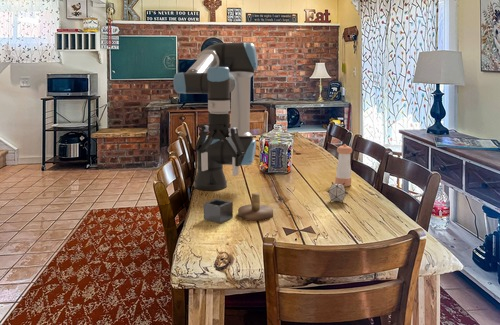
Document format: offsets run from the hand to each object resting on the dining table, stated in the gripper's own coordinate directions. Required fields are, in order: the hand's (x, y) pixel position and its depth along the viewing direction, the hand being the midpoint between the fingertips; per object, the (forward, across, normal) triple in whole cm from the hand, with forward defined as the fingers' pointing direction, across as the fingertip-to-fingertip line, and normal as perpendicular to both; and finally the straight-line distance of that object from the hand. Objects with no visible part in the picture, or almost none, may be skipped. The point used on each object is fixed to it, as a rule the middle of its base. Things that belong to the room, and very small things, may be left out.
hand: (219, 172), depth 152 cm
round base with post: (+17, +9, +10) cm, 22 cm away
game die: (+17, +28, +42) cm, 53 cm away
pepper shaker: (+17, +21, +69) cm, 74 cm away
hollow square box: (+17, 0, -1) cm, 17 cm away
